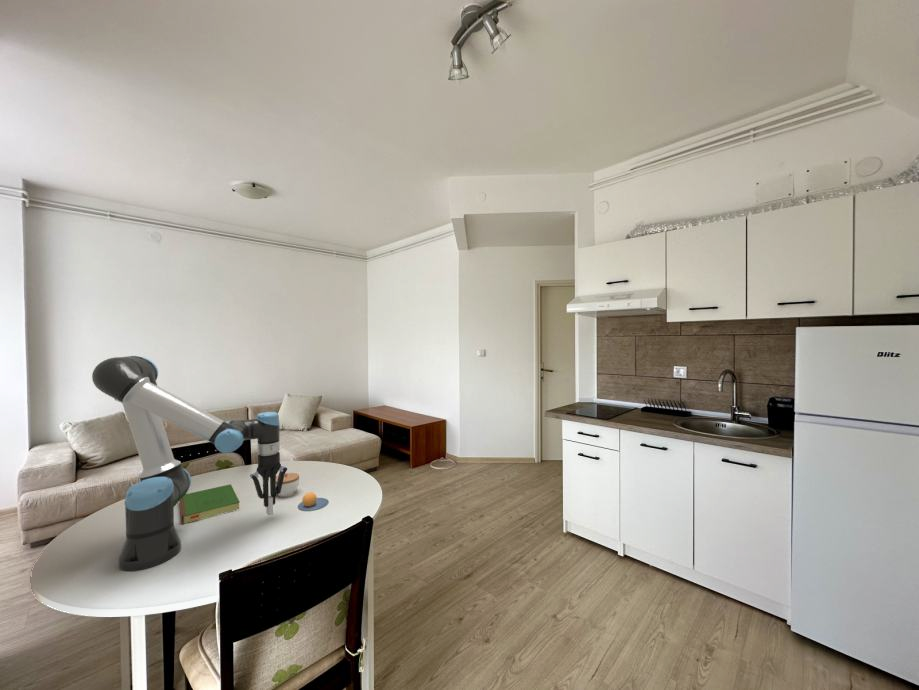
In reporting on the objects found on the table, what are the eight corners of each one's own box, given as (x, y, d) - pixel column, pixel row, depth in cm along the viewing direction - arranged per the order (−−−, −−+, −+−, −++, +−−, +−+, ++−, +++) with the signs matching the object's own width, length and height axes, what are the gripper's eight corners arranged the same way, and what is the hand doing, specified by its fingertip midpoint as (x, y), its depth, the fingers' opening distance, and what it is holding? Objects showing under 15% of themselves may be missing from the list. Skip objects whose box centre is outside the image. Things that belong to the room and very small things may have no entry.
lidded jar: (304, 489, 168) (303, 469, 168) (291, 499, 157) (290, 478, 157) (282, 489, 169) (281, 468, 169) (267, 499, 158) (267, 477, 158)
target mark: (304, 514, 144) (304, 513, 144) (293, 504, 153) (293, 504, 153) (333, 504, 153) (333, 503, 153) (320, 495, 161) (320, 495, 161)
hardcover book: (179, 504, 155) (179, 495, 155) (231, 492, 167) (230, 484, 167) (182, 527, 136) (182, 517, 136) (240, 511, 148) (239, 502, 148)
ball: (304, 509, 147) (307, 494, 148) (298, 504, 151) (301, 490, 152) (317, 507, 151) (320, 494, 152) (311, 503, 155) (314, 490, 155)
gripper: (253, 459, 133) (254, 523, 133) (290, 451, 142) (290, 511, 143) (247, 454, 138) (247, 516, 139) (282, 447, 148) (283, 505, 148)
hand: (269, 513), depth 141 cm, fingers closed
